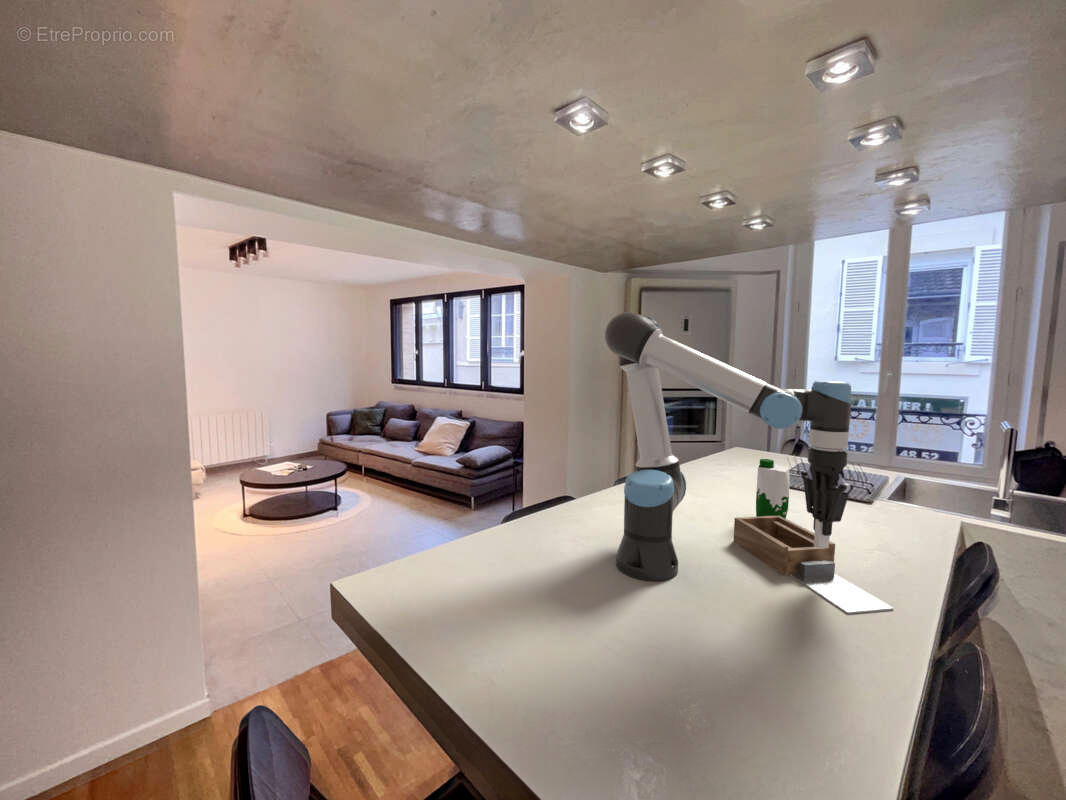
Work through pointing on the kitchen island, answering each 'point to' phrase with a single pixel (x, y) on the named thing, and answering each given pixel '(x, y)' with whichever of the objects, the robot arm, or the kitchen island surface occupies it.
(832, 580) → the cover plate
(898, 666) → the kitchen island surface
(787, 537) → the box
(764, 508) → the milk carton
